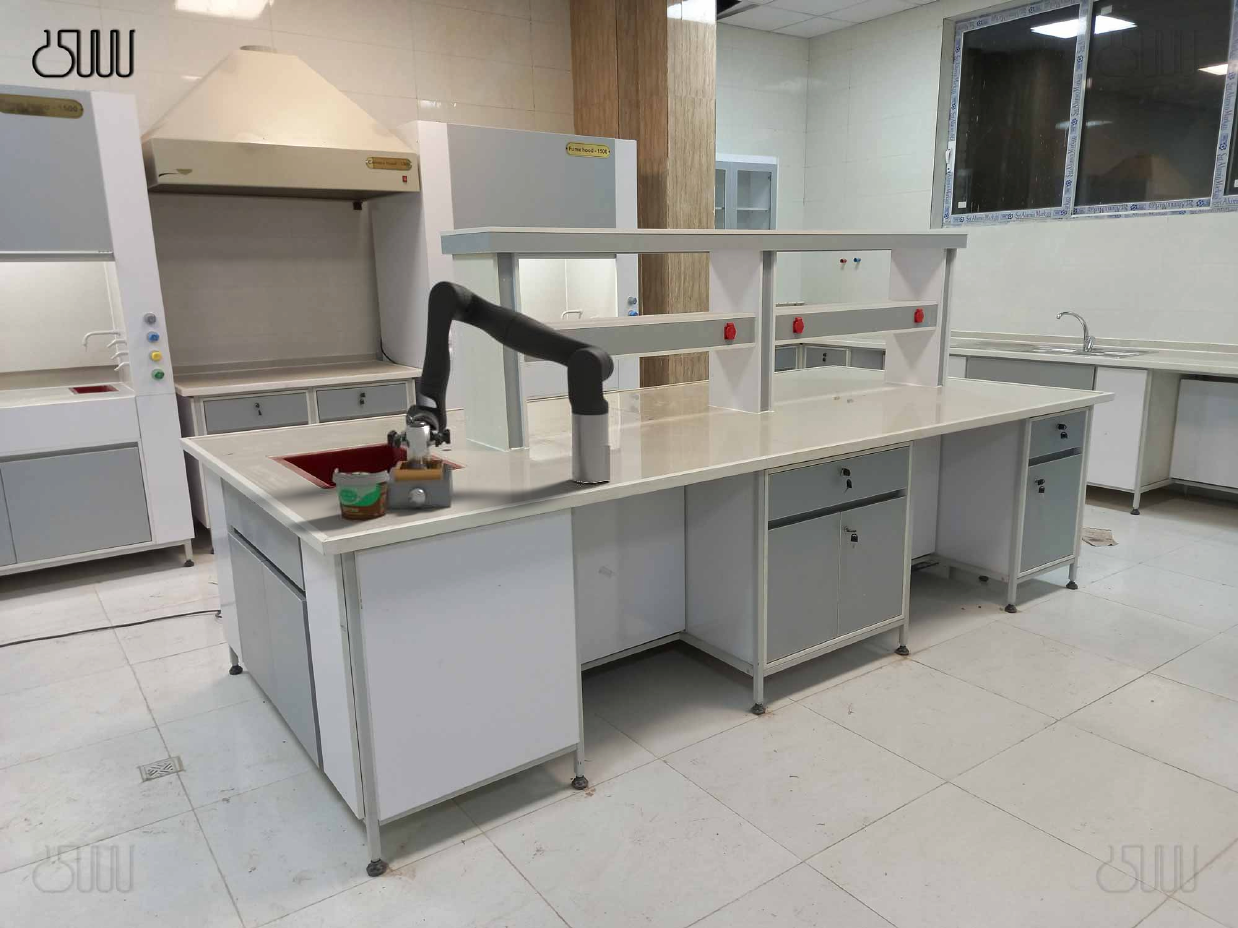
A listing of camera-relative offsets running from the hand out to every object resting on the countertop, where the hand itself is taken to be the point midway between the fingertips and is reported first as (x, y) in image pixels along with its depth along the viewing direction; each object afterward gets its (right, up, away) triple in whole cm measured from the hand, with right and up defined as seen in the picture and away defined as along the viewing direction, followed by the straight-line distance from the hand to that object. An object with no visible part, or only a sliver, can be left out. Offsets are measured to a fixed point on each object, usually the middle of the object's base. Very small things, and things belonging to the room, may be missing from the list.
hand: (417, 443), depth 193 cm
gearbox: (0, -13, +3) cm, 14 cm away
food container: (-10, -16, -11) cm, 22 cm away
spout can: (0, -7, +3) cm, 8 cm away
